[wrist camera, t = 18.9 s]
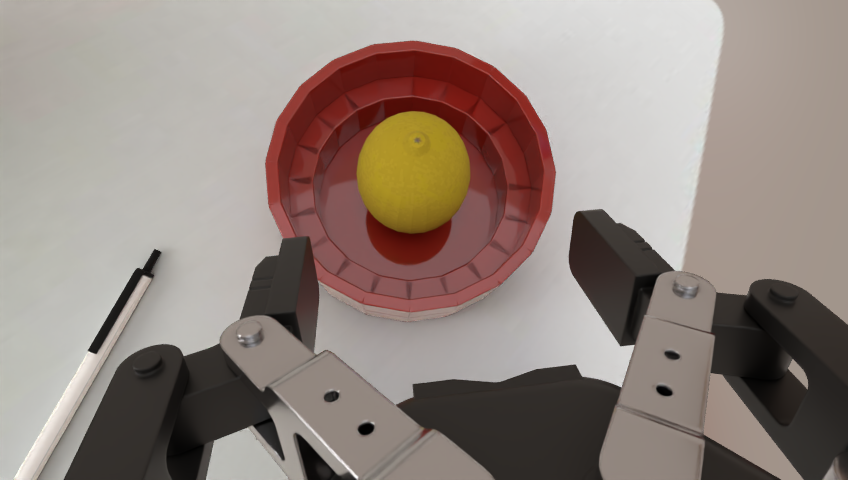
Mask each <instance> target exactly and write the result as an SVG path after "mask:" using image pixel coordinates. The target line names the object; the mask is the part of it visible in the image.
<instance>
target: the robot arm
mask: <svg viewBox="0 0 848 480" xmlns="http://www.w3.org/2000/svg"><path fill="white" fill-rule="evenodd" d="M569 265H570V270H571V272H572V275H573V276H574V278H575V279H576V281H577V282H578V284H579V285H580V287H581V288H582V290H583V291H584V293H585V294H586V296H587V297H588V299H589V300H590V302H591V303H592V305H593V306H594V307H595V309H596V310H597V312H598V313H599V315H600V316H601V318H602V319H603V321H604V322H605V324H606V325H607V327H608V328H609V330H610V331H611V333H612V334H613V336H614V337H615V339H616V340H617V342H618V343H619V345H620V346H628V345H635V346H634V350H633V353H632V356H631V359H630V362H629V366H628V369H627V372H626V375H625V378H624V382H623V385H622V388H621V387H619V386H617V385H614V384H611V383H609V382H606V381H602V380H598V379H594V378H588V377H582V376H581V374H580V372H579V370H578V368H577V366H576V365H568V366H560V367H551V368H543V369H536V370H533V371H530V372H527V373H524V374H522V375H519V376H516V377H513V378H510V379H507V380H505V381H502V382H481V381H469V380H456V379H452V380H444V381H436V382H427V383H419V384H413V395H414V397H413V398H410V399H407V400H405V401H403V402H401V403H399V404H397V405H395V404H393V403H392V402H391V401H390V400H389V399H387V398H386V397H385V396H384V395H383V394H382V393H380V392H379V391H378V390H377V389H376V388H374V387H373V386H372V385H371V384H370V383H368V382H367V381H366V380H365V379H364V378H362V377H361V376H360V375H359V374H358V373H356V372H355V371H354V370H353V369H352V368H350V367H349V366H348V365H347V364H346V363H344V362H343V361H342V360H341V359H340V358H339V357H337V356H336V355H335V354H334V353H332V352H331V351H328V350H325V351H323V352H321V353H320V354H318V355H316V354H314V347H315V337H316V327H317V316H318V306H319V286H318V279H317V273H316V268H315V262H314V257H313V251H312V246H311V241H310V238H309V236H304V237H293V238H283V240H282V243H281V248H280V252H279V256H269V257H265V258H264V259H263V260H262V261H261V262H260V263H259V264H258V266H257V267H256V268H255V271H254V274H253V277H252V281H251V284H250V287H249V290H248V294H247V297H246V300H245V303H244V307H243V310H242V313H241V317H240V320H238V321H236V322H234V323H233V324H231V325H230V326H228V327H227V328H226V329H225V330H224V332H223V333H222V335H221V337H220V343H219V344H217V345H215V346H213V347H211V348H208V349H205V350H202V351H199V352H196V353H193V354H190V355H187V356H184V357H183V354H182V352H181V350H180V349H179V348H178V347H176V346H173V345H168V344H161V345H154V346H150V347H147V348H144V349H142V350H139V351H137V352H135V353H134V354H132V355H131V356H129V357H128V358H127V359H125V360H124V361H123V362H122V363H121V364H120V365H119V367H118V368H117V370H116V372H115V374H114V376H113V378H112V380H111V382H110V384H109V386H108V388H107V390H106V393H105V395H104V397H103V399H102V401H101V403H100V405H99V407H98V409H97V411H96V413H95V415H94V418H93V420H92V422H91V424H90V426H89V428H88V430H87V432H86V434H85V436H84V438H83V440H82V443H81V445H80V447H79V449H78V451H77V453H76V455H75V457H74V459H73V461H72V463H71V465H70V468H69V470H68V472H67V474H66V476H65V478H64V480H206V476H207V471H208V466H209V462H210V457H211V452H212V448H213V443H214V440H217V439H219V438H222V437H224V436H227V435H229V434H232V433H235V432H237V431H240V430H242V429H245V428H247V427H248V428H249V430H250V431H251V432H252V433H253V435H254V436H255V437H256V438H257V439H258V441H259V442H260V443H261V444H262V446H263V447H264V448H265V449H266V451H267V452H268V453H269V454H270V455H271V457H272V458H273V459H274V460H275V462H276V463H277V464H278V465H279V467H280V468H281V469H282V470H283V471H284V473H285V474H286V476H287V477H288V479H289V480H781V479H779V478H777V477H775V476H774V475H772V474H770V473H769V472H767V471H765V470H764V469H762V468H760V467H758V466H757V465H755V464H753V463H751V462H750V461H748V460H746V459H745V458H743V457H741V456H739V455H738V454H736V453H734V452H733V451H731V450H729V449H727V448H725V447H724V446H722V445H721V444H719V443H717V442H715V441H714V440H712V439H710V438H708V437H707V436H705V435H703V431H704V422H705V414H706V406H707V398H708V390H709V381H710V373H715V374H722V375H723V376H724V378H725V379H726V380H727V382H728V383H729V384H730V385H731V387H732V388H733V389H734V391H735V392H736V393H737V394H738V396H739V397H740V398H741V400H742V401H743V402H744V404H745V405H746V406H747V407H748V409H749V410H750V411H751V412H752V414H753V415H754V416H755V418H756V419H757V420H758V421H759V423H760V424H761V425H762V427H763V428H764V429H765V430H766V432H767V433H768V434H769V436H770V437H771V438H772V439H773V441H774V442H775V443H776V445H777V446H778V447H779V448H780V450H781V451H782V452H783V453H784V455H785V456H786V457H787V459H788V460H789V461H790V462H791V464H792V465H793V466H794V468H795V469H796V470H797V472H798V473H799V474H800V475H801V476H802V478H803V479H804V480H848V325H847V324H846V323H845V322H844V321H843V320H841V319H840V318H839V317H838V316H836V315H835V314H834V313H833V312H831V311H830V310H829V309H828V308H827V307H826V306H824V305H823V304H822V303H821V302H819V301H818V300H817V299H816V298H815V297H813V296H812V295H811V294H810V293H808V292H807V291H805V290H804V289H802V288H800V287H798V286H796V285H793V284H791V283H787V282H784V281H779V280H772V279H764V280H758V281H755V282H753V283H752V284H751V286H750V289H749V291H748V294H747V295H736V294H725V293H717V292H716V290H715V288H714V286H713V285H712V284H711V283H710V282H709V281H707V280H706V279H704V278H702V277H700V276H697V275H695V274H691V273H688V272H682V271H675V270H674V269H673V268H672V267H671V266H670V265H669V264H668V263H667V262H666V261H665V260H664V259H663V258H662V257H661V256H660V255H659V254H658V253H657V252H656V251H655V250H652V247H651V246H650V245H649V244H648V243H647V242H645V240H644V239H643V238H642V237H641V236H640V235H639V234H638V233H637V232H636V231H635V230H633V229H631V228H629V227H627V226H625V225H623V224H621V223H617V224H616V222H615V221H614V220H613V219H612V218H611V217H610V216H609V215H608V214H607V213H606V212H605V211H604V210H602V209H597V210H587V211H578V212H576V214H575V216H574V220H573V227H572V235H571V242H570V250H569ZM792 359H794V360H795V361H796V362H797V364H799V366H800V367H801V368H802V369H803V370H804V372H805V373H806V376H807V379H808V390H807V389H806V387H805V386H804V385H803V384H802V383H801V382H800V381H799V380H798V379H797V378H796V377H795V376H794V375H793V374H792V373H791V372H790V371H789V370H788V367H789V365H790V363H791V361H792Z"/></svg>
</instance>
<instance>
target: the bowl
mask: <svg viewBox="0 0 848 480" xmlns="http://www.w3.org/2000/svg"><path fill="white" fill-rule="evenodd" d="M409 111H416V112H425V113H429V114H432V115H435V116H437V117H439V118H441V119H443V120H444V121H446V122H447V123H448V124H449V125H450V126H452V127H453V128H454V129H455V130H456V131H457V133H458V134H459V136H460V138H461V139H462V141H463V142H464V145H465V147H466V150H467V154H468V157H469V161H470V182H469V187H468V191H467V195H466V197H465V199H464V201H463V203H462V205H461V207H460V209H459V210H458V211H457V212H456V213H455V214H454V215H453V217H452V218H451V219H450V220H449V221H448V222H446V223H444V224H443V225H441V226H440V227H438V228H437V229H434V230H431V231H428V232H425V233H414V234H409V233H403V232H397V231H395V230H393V229H391V228H388V227H386V226H384V225H383V224H382V223H381V222H379V221H378V220H377V219H375V218H374V217H373V215H372V214H371V213H370V212H369V210H368V209H367V208H366V206H365V204H364V202H363V200H362V197H361V195H360V193H359V189H358V182H357V166H358V159H359V154H360V152H361V150H362V147H363V145H364V143H365V141H366V139H367V137H368V136H369V135H370V133H371V132H372V131H373V130H374V128H375V127H376V126H378V125H379V124H380V123H382V122H383V121H384V120H386V119H387V118H389V117H391V116H394V115H396V114H398V113H403V112H409ZM265 167H266V180H267V194H268V204H269V208H270V210H271V213H272V215H273V217H274V219H275V222H276V224H277V226H278V228H279V231H280V233H281V235H282V237H283V238H293V237H304V236H309V238H310V241H311V246H312V251H313V257H314V262H315V268H316V273H317V279H318V282H319V283H320V284H321V285H322V286H323V287H324V288H325V289H326V291H327V292H328V293H329V294H330V295H332V296H333V297H335V298H336V299H338V300H340V301H342V302H344V303H346V304H348V305H349V306H351V307H353V308H355V309H357V310H359V311H361V312H362V313H364V314H366V315H367V314H368V315H370V316H376V317H382V318H387V319H393V320H399V321H404V322H407V321H408V322H412V321H419V320H426V319H433V318H440V317H447V316H449V315H451V314H453V313H455V312H457V311H459V310H461V309H463V308H465V307H467V306H469V305H472V304H474V303H476V302H478V301H480V300H482V299H483V298H485V297H486V296H487V295H488V294H490V293H491V292H492V291H493V290H495V289H496V288H497V287H499V286H500V285H501V284H502V283H503V282H504V281H505V280H506V279H507V278H508V277H509V276H510V275H511V274H512V273H513V272H514V271H515V270H516V269H517V268H518V267H519V266H520V265H521V264H522V263H523V262H524V261H525V260H526V259H527V258H528V257H529V256H530V255H531V254H532V252H533V251H534V249H535V247H536V245H537V243H538V240H539V238H540V236H541V234H542V232H543V230H544V228H545V226H546V224H547V222H548V219H549V217H550V215H551V212H552V203H553V194H554V184H555V175H556V172H555V166H554V161H553V157H552V153H551V148H550V144H549V139H548V135H547V131H546V128H545V127H544V125H543V123H542V122H541V120H540V118H539V117H538V115H537V113H536V112H535V110H534V108H533V107H532V105H531V103H530V102H529V100H528V98H527V96H526V95H525V94H524V93H523V92H522V91H521V90H519V89H518V88H517V87H516V86H515V85H514V84H513V83H512V82H511V81H510V80H508V79H507V78H506V77H505V76H504V75H503V74H502V73H501V72H500V71H499V70H497V69H496V68H495V67H494V66H492V65H490V64H488V63H486V62H484V61H482V60H480V59H478V58H476V57H473V56H471V55H469V54H467V53H465V52H463V51H461V50H459V49H456V48H453V47H447V46H442V45H436V44H431V43H426V42H420V41H404V42H393V43H382V44H373V45H370V46H367V47H365V48H362V49H360V50H357V51H354V52H352V53H349V54H347V55H344V56H342V57H339V58H336V59H334V60H332V61H331V62H330V63H328V64H327V65H326V66H325V67H323V68H322V69H321V70H319V71H318V72H317V73H316V74H314V75H313V76H312V77H310V78H309V79H308V80H307V81H305V82H304V83H303V84H302V85H301V86H300V87H299V88H298V90H297V91H296V93H295V94H294V95H293V97H292V98H291V100H290V101H289V103H288V104H287V106H286V107H285V109H284V110H283V112H282V113H281V115H280V116H279V118H278V119H277V121H276V124H275V128H274V131H273V135H272V139H271V142H270V146H269V150H268V153H267V157H266V163H265Z"/></svg>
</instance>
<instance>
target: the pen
mask: <svg viewBox="0 0 848 480" xmlns="http://www.w3.org/2000/svg"><path fill="white" fill-rule="evenodd" d="M160 254H161V252H160V251H158V250H156V249H154V251H153V253H152V254H151V256H150V258H149V259H148V261H147V263H146V264H145V266H144V268H143V269H140V268H137V269H136V270H135V271H134V273H133V275H132V276H131V278H130V280H129V282H128V283H127V285H126V287H125V288H124V290H123V292H122V293H121V295H120V297H119V298H118V300H117V302H116V304H115V305H114V307H113V309H112V310H111V312H110V314H109V315H108V317H107V319H106V321H105V322H104V324H103V326H102V327H101V329H100V331H99V332H98V334H97V336H96V337H95V339H94V341H93V343H92V344H91V346H90V348H89V349H88V353H87V355H86V357H85V358H84V360H83V362H82V363H81V365H80V367H79V368H78V370H77V372H76V374H75V375H74V377H73V379H72V380H71V382H70V384H69V385H68V387H67V389H66V391H65V392H64V394H63V396H62V397H61V399H60V401H59V403H58V404H57V406H56V408H55V409H54V411H53V413H52V414H51V416H50V418H49V420H48V421H47V423H46V425H45V426H44V428H43V430H42V432H41V433H40V435H39V437H38V438H37V440H36V442H35V443H34V445H33V447H32V449H31V450H30V452H29V454H28V455H27V457H26V459H25V460H24V462H23V464H22V466H21V467H20V469H19V471H18V472H17V474H16V476H15V478H14V479H13V480H37V478H38V476H39V475H40V473H41V471H42V469H43V468H44V466H45V464H46V462H47V461H48V459H49V457H50V455H51V454H52V452H53V450H54V448H55V447H56V445H57V443H58V442H59V440H60V438H61V436H62V435H63V433H64V431H65V429H66V428H67V426H68V424H69V422H70V421H71V419H72V417H73V415H74V414H75V412H76V410H77V408H78V407H79V405H80V403H81V402H82V400H83V398H84V396H85V395H86V393H87V391H88V389H89V388H90V386H91V384H92V382H93V381H94V379H95V377H96V375H97V374H98V372H99V370H100V368H101V367H102V365H103V363H104V362H105V360H106V358H107V356H108V355H109V353H110V351H111V349H112V348H113V346H114V344H115V342H116V341H117V339H118V337H119V335H120V334H121V332H122V330H123V328H124V327H125V325H126V323H127V322H128V320H129V318H130V316H131V315H132V313H133V311H134V309H135V308H136V306H137V304H138V302H139V301H140V299H141V297H142V295H143V294H144V292H145V290H146V288H147V287H148V285H149V283H150V282H151V280H152V278H153V276H154V274H152V273H150V272H151V270H152V268H153V266H154V265H155V263H156V261H157V259H158V257H159V256H160Z"/></svg>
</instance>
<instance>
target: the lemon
mask: <svg viewBox="0 0 848 480" xmlns="http://www.w3.org/2000/svg"><path fill="white" fill-rule="evenodd" d="M357 182H358V189H359V193H360V195H361V197H362V200H363V202H364V204H365V206H366V208H367V209H368V210H369V212H370V213H371V214H372V215H373V217H374V218H375V219H377V220H378V221H379V222H381V223H382V224H383V225H384V226H386V227H388V228H391V229H393V230H395V231H397V232H403V233H409V234H414V233H425V232H428V231H431V230H434V229H437V228H438V227H440V226H441V225H443V224H444V223H446V222H448V221H449V220H450V219H451V218H452V217H453V215H454V214H455V213H456V212H457V211H458V210H459V209H460V207H461V205H462V203H463V201H464V199H465V197H466V195H467V191H468V187H469V182H470V161H469V157H468V154H467V150H466V147H465V145H464V142H463V141H462V139H461V138H460V136H459V134H458V133H457V131H456V130H455V129H454V128H453V127H452V126H450V125H449V124H448V123H447V122H446V121H444V120H443V119H441V118H439V117H437V116H435V115H432V114H429V113H425V112H416V111H409V112H403V113H398V114H396V115H394V116H391V117H389V118H387V119H386V120H384V121H383V122H382V123H380V124H379V125H378V126H376V127H375V128H374V130H373V131H372V132H371V133H370V135H369V136H368V137H367V139H366V141H365V143H364V145H363V147H362V150H361V152H360V154H359V159H358V166H357Z"/></svg>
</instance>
